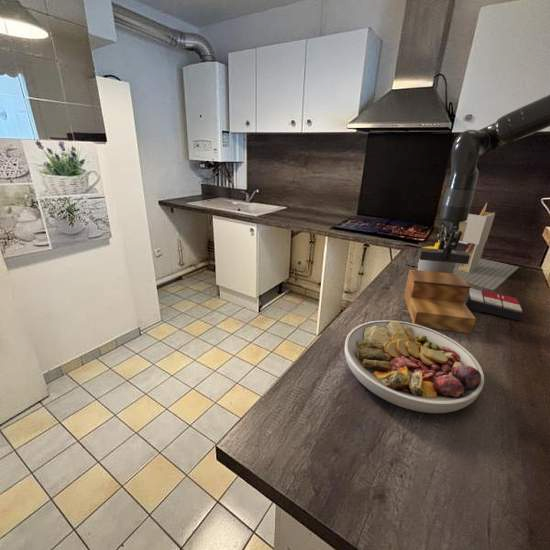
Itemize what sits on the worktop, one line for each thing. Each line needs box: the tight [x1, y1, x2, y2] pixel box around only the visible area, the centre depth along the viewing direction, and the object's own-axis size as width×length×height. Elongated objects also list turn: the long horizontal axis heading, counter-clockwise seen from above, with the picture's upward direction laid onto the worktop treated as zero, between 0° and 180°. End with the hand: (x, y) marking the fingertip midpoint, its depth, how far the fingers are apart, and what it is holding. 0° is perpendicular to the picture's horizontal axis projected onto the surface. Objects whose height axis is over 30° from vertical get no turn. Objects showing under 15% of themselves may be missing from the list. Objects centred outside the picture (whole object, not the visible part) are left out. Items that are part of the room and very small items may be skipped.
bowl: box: [344, 319, 485, 414], centre depth 70 cm, size 30×30×8 cm
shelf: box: [403, 269, 477, 334], centre depth 95 cm, size 16×20×11 cm
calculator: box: [465, 287, 524, 322], centre depth 100 cm, size 11×4×15 cm
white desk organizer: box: [458, 202, 496, 273], centre depth 133 cm, size 10×16×29 cm, turn 130°
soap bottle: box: [416, 233, 456, 274], centre depth 112 cm, size 13×13×21 cm
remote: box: [416, 247, 470, 264], centre depth 94 cm, size 14×5×3 cm, turn 76°
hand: (442, 257), depth 94 cm, fingers closed on remote, 4 cm apart
